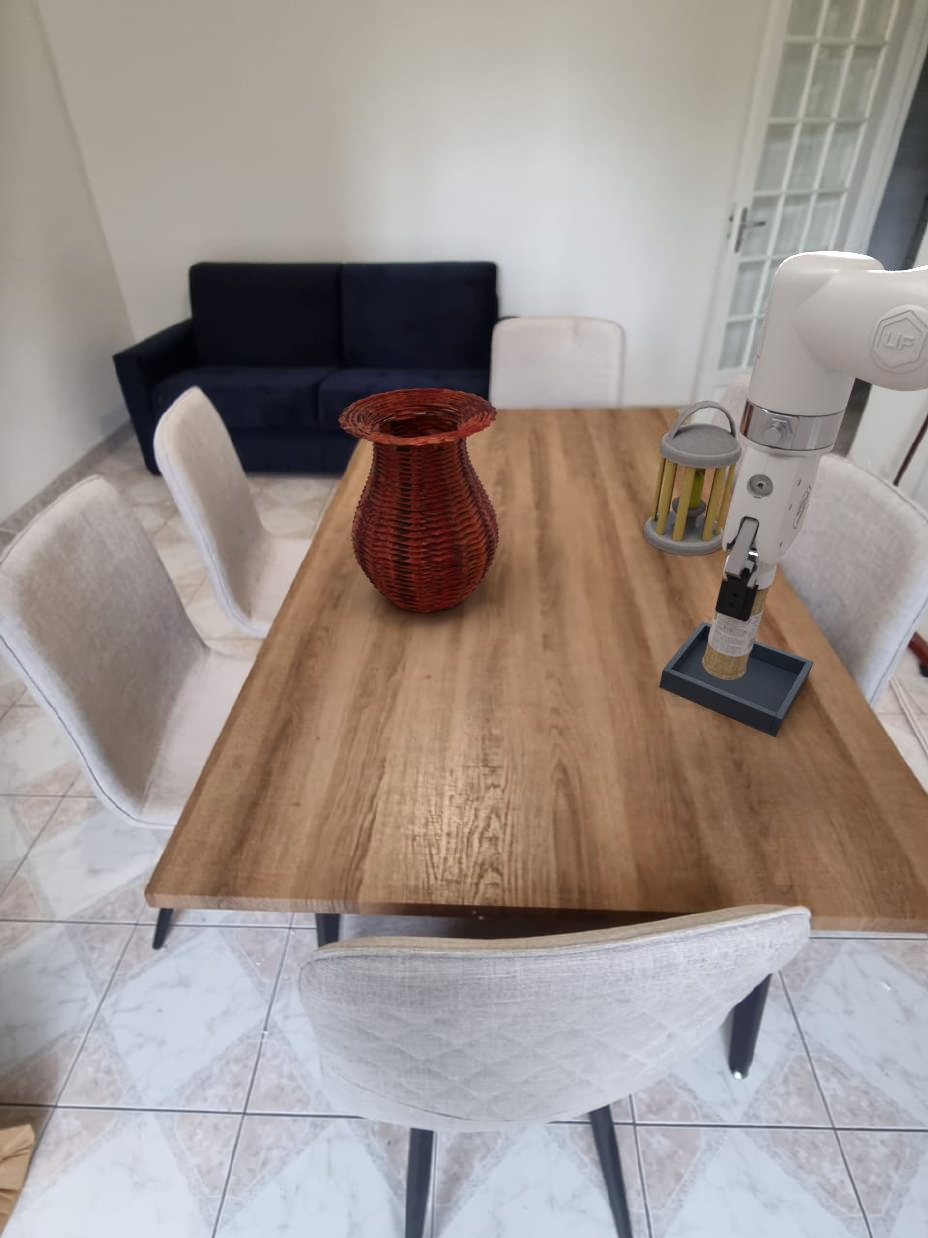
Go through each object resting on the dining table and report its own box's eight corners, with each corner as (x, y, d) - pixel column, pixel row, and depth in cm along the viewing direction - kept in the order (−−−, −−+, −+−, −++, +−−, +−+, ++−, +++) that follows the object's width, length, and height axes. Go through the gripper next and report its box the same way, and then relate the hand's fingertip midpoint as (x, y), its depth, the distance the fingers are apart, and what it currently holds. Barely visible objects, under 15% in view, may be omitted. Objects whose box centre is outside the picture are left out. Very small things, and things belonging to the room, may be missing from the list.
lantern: (711, 517, 130) (740, 387, 115) (732, 555, 119) (767, 416, 104) (637, 517, 131) (656, 388, 116) (651, 555, 120) (674, 417, 105)
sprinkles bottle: (716, 649, 74) (743, 543, 66) (754, 669, 72) (787, 560, 64) (692, 667, 72) (717, 559, 64) (730, 688, 69) (761, 578, 61)
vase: (350, 563, 120) (326, 394, 102) (478, 544, 124) (476, 379, 106) (368, 642, 102) (343, 453, 84) (517, 616, 106) (523, 432, 88)
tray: (807, 678, 93) (813, 661, 91) (775, 737, 84) (781, 719, 83) (698, 637, 101) (702, 620, 99) (659, 687, 92) (662, 669, 90)
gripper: (808, 468, 49) (751, 661, 60) (861, 401, 59) (804, 575, 70) (707, 446, 52) (670, 631, 63) (774, 387, 63) (733, 554, 74)
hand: (741, 600), depth 67 cm, fingers closed on sprinkles bottle, 4 cm apart
